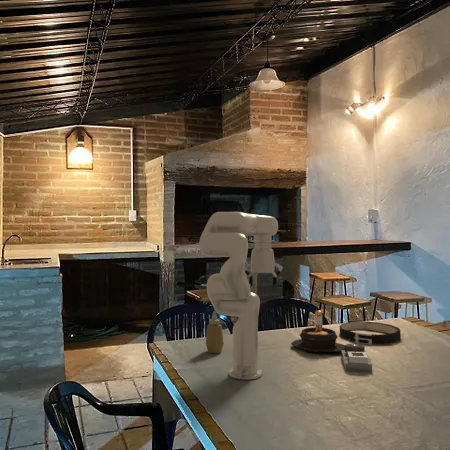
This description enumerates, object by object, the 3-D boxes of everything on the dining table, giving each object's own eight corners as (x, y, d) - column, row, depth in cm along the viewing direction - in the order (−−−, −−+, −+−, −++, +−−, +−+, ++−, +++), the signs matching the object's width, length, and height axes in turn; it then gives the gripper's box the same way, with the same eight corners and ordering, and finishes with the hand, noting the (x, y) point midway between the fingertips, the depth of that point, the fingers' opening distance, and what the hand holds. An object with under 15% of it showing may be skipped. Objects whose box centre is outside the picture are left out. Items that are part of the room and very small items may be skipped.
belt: (332, 340, 224) (332, 330, 223) (346, 327, 250) (346, 318, 250) (396, 348, 210) (396, 337, 210) (404, 333, 236) (403, 323, 236)
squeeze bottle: (224, 349, 209) (224, 310, 209) (222, 354, 201) (222, 313, 201) (207, 349, 210) (206, 309, 210) (204, 354, 202) (204, 313, 202)
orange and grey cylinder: (322, 331, 207) (322, 311, 206) (315, 331, 207) (315, 311, 207) (322, 330, 210) (322, 310, 209) (315, 330, 210) (315, 310, 210)
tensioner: (372, 372, 177) (372, 355, 177) (345, 371, 178) (345, 354, 178) (365, 358, 194) (365, 342, 194) (341, 357, 196) (341, 341, 196)
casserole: (284, 351, 206) (284, 332, 206) (299, 341, 223) (299, 323, 222) (340, 359, 194) (340, 339, 194) (351, 348, 210) (351, 329, 210)
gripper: (241, 246, 196) (242, 286, 196) (282, 246, 194) (282, 287, 194) (243, 245, 204) (244, 284, 204) (283, 245, 201) (283, 284, 201)
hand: (262, 285), depth 199 cm, fingers open, 9 cm apart
